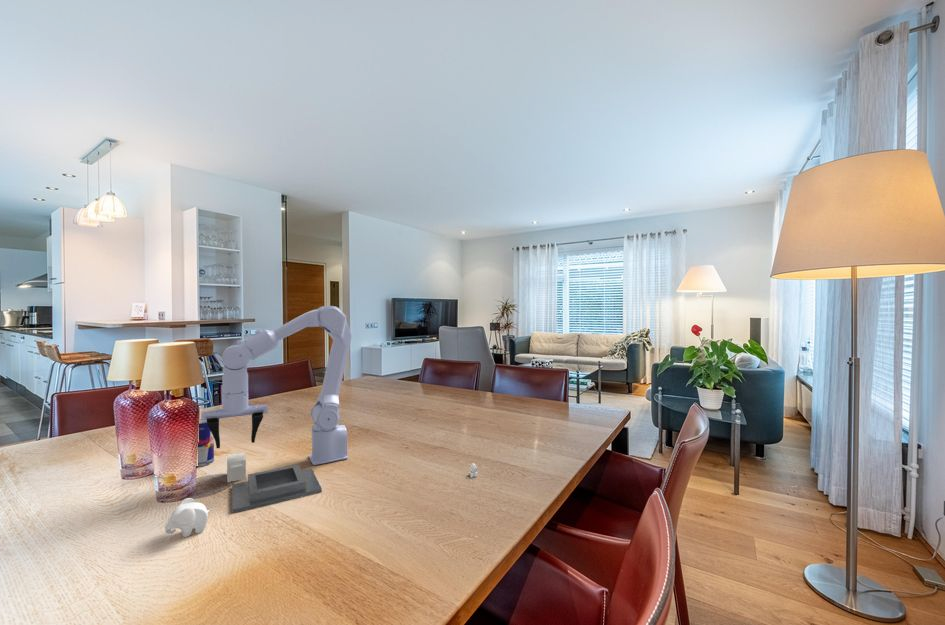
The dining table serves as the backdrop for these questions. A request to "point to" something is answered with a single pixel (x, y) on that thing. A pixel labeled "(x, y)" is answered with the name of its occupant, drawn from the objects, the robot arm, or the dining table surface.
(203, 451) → the energy drink
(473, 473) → the grey lumpy piece
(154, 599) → the dining table surface
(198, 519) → the elephant figurine
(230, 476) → the block
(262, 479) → the plate
